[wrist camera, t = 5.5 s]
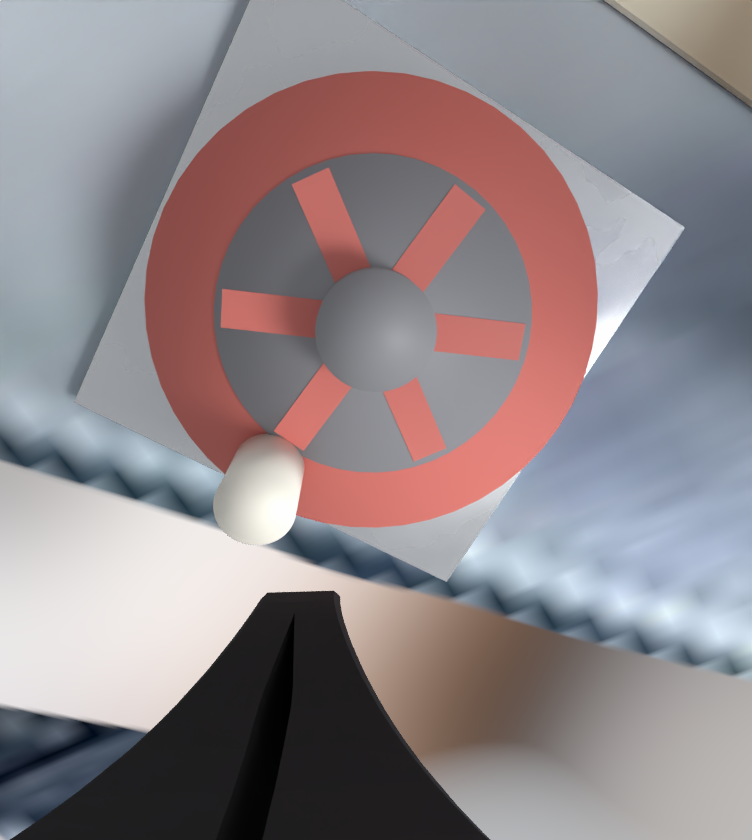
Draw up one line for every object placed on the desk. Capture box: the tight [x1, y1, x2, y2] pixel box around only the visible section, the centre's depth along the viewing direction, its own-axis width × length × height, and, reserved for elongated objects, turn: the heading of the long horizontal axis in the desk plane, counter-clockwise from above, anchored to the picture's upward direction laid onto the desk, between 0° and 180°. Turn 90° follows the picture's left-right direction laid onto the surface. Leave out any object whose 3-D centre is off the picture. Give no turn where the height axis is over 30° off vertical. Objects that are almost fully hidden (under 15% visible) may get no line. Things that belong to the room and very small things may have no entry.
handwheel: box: [144, 71, 598, 545], centre depth 16 cm, size 12×12×4 cm
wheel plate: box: [74, 0, 685, 582], centre depth 18 cm, size 13×13×1 cm
